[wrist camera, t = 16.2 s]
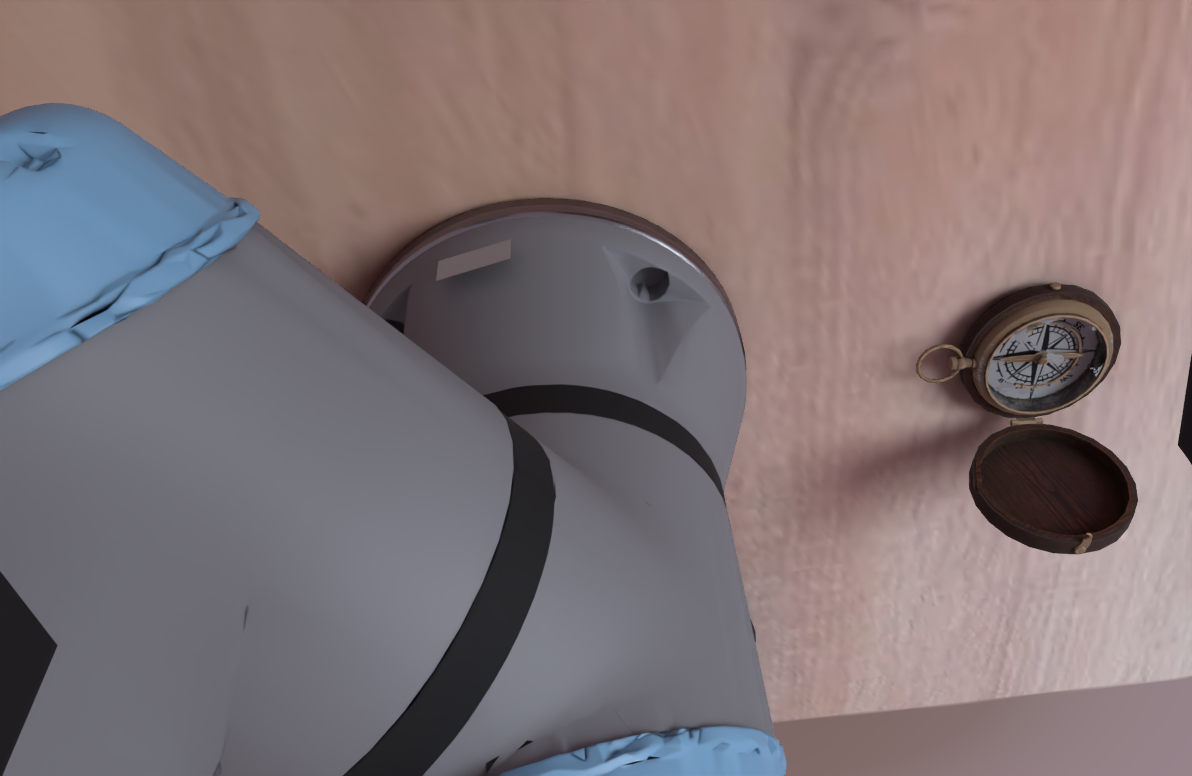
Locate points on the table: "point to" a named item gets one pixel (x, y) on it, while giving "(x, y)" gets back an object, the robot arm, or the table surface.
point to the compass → (1029, 448)
